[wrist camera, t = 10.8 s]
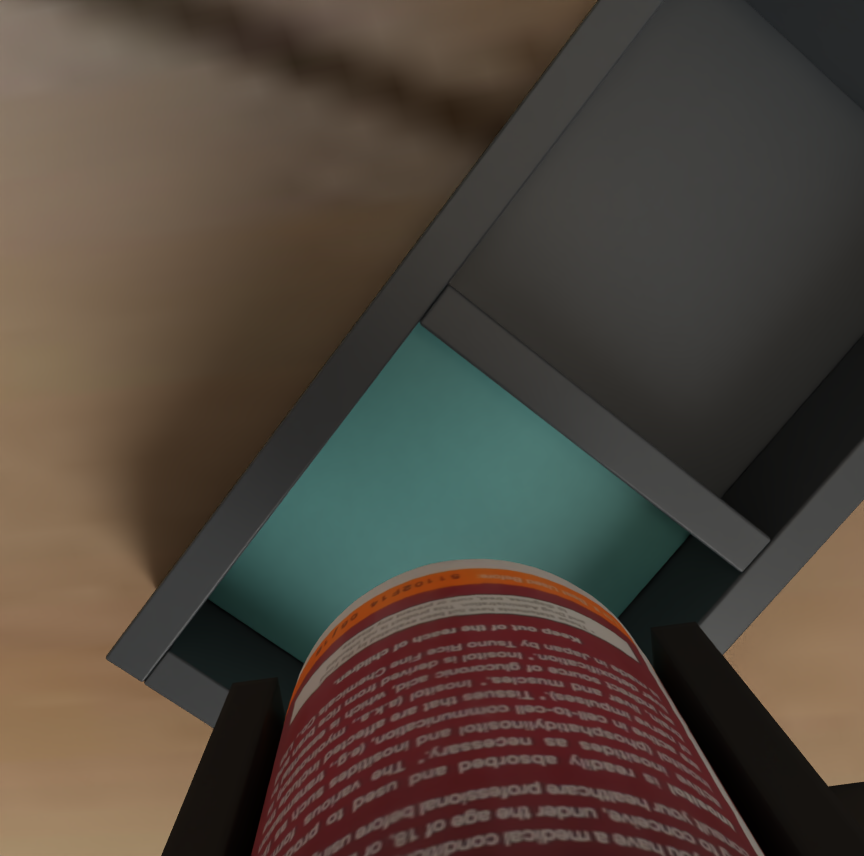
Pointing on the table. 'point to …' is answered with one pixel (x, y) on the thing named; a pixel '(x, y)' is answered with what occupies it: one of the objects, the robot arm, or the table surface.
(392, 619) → the pill bottle
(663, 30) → the box
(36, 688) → the table surface
